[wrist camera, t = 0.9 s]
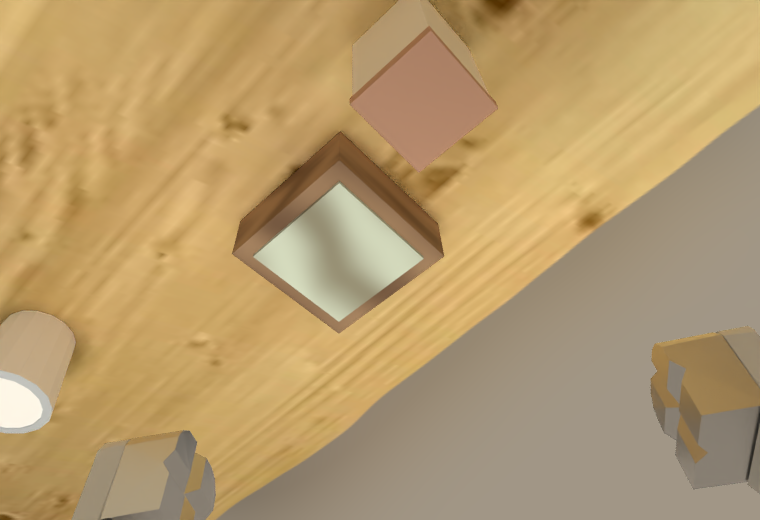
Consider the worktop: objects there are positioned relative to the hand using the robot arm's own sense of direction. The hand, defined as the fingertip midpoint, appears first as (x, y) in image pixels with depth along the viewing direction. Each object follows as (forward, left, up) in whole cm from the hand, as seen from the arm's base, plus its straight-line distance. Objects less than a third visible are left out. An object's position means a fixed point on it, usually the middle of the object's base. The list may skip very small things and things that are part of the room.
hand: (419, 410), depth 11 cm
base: (+13, +10, -32) cm, 36 cm away
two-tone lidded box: (+1, +4, -32) cm, 32 cm away
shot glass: (+38, +1, -32) cm, 50 cm away
